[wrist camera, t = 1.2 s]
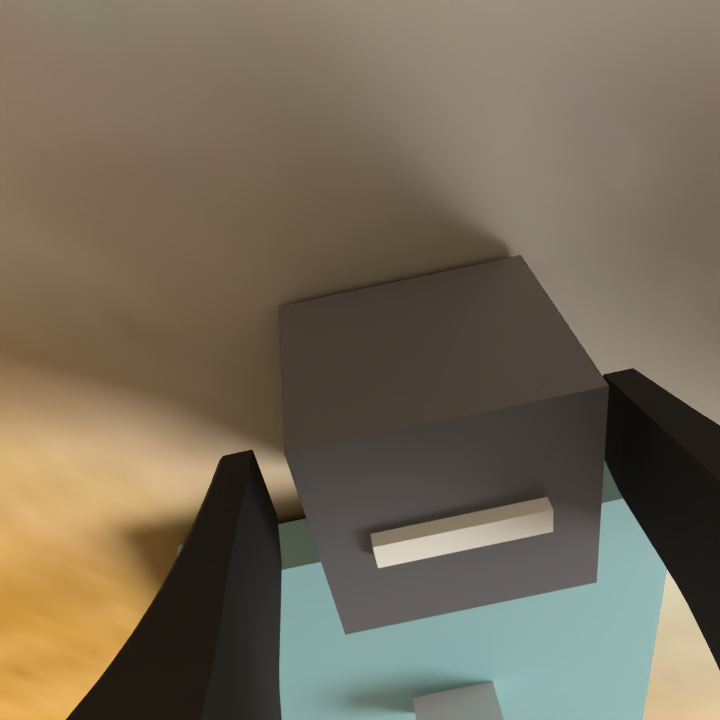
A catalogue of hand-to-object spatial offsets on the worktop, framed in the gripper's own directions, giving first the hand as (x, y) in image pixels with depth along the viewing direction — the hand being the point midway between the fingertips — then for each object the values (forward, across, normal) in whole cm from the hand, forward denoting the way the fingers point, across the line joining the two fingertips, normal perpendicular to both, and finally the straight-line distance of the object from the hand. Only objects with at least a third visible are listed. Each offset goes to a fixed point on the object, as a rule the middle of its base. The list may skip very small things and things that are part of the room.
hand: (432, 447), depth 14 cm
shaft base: (+2, 0, +12) cm, 12 cm away
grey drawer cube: (+2, 0, 0) cm, 2 cm away
